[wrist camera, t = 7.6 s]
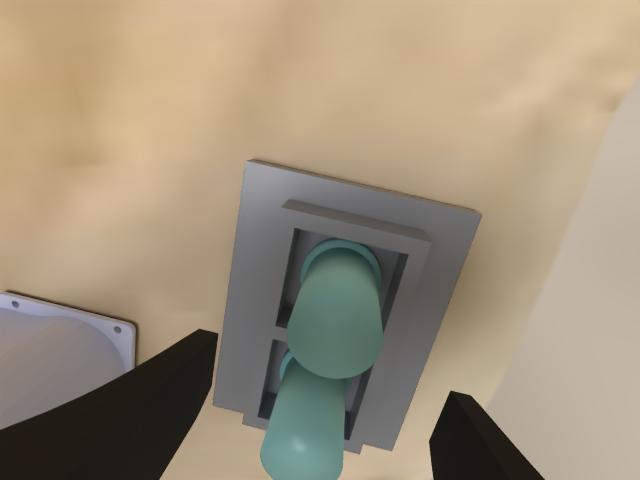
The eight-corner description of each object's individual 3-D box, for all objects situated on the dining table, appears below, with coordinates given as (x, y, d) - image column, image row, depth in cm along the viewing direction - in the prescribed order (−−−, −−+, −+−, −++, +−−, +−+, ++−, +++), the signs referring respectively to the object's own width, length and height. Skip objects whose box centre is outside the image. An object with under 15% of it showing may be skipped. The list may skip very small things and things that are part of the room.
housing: (219, 391, 23) (198, 431, 20) (252, 159, 18) (231, 164, 15) (390, 435, 22) (395, 482, 19) (474, 209, 17) (498, 225, 14)
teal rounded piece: (277, 386, 21) (247, 481, 15) (289, 330, 19) (261, 411, 14) (342, 402, 21) (337, 505, 15) (359, 347, 19) (360, 436, 14)
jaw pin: (298, 300, 19) (272, 373, 13) (308, 230, 17) (285, 277, 12) (371, 314, 19) (378, 394, 13) (388, 244, 17) (404, 299, 12)
